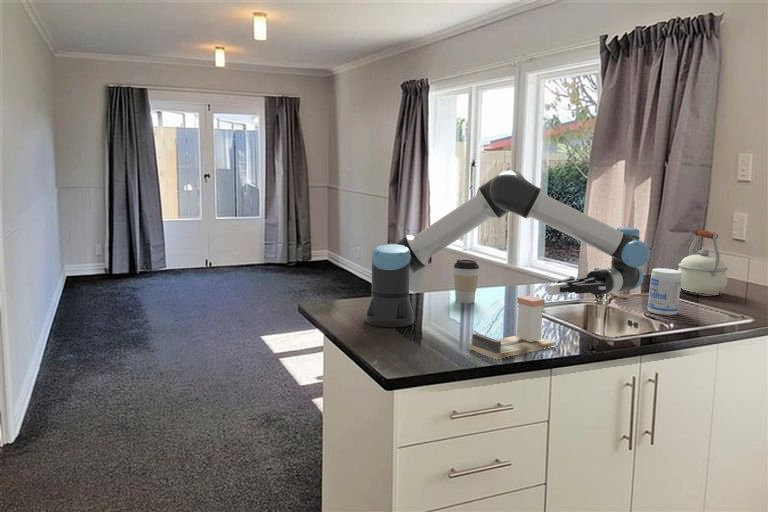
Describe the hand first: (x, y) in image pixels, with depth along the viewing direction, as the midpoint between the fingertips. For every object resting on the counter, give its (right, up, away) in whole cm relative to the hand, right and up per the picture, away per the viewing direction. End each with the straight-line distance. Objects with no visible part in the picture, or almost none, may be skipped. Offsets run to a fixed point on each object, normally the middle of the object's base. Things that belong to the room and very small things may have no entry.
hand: (549, 290), depth 177 cm
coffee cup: (-17, -7, +51) cm, 55 cm away
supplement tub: (+50, -10, +41) cm, 65 cm away
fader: (-6, -13, -1) cm, 15 cm away
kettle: (+80, -5, +77) cm, 111 cm away
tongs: (+42, -7, +66) cm, 79 cm away
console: (-11, -16, -4) cm, 20 cm away
